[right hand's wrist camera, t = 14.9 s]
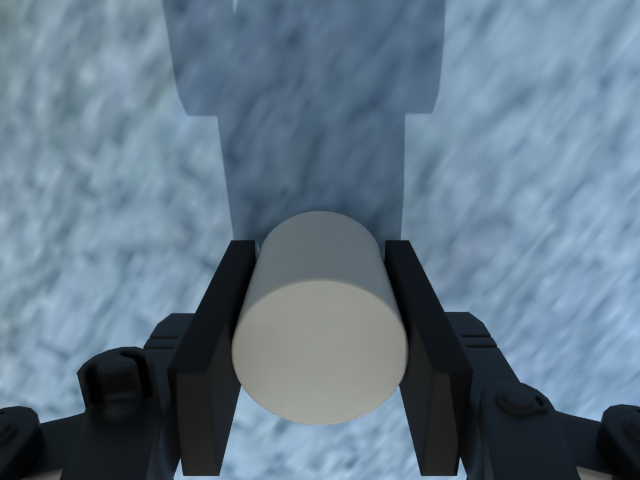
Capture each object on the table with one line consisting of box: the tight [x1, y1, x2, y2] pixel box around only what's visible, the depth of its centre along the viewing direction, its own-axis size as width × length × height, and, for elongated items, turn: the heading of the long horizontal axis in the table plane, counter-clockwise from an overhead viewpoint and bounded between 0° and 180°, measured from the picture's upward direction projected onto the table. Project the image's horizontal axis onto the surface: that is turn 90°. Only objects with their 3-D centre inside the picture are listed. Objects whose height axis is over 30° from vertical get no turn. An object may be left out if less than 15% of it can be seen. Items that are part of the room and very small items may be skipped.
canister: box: [231, 211, 409, 425], centre depth 13 cm, size 4×4×5 cm
